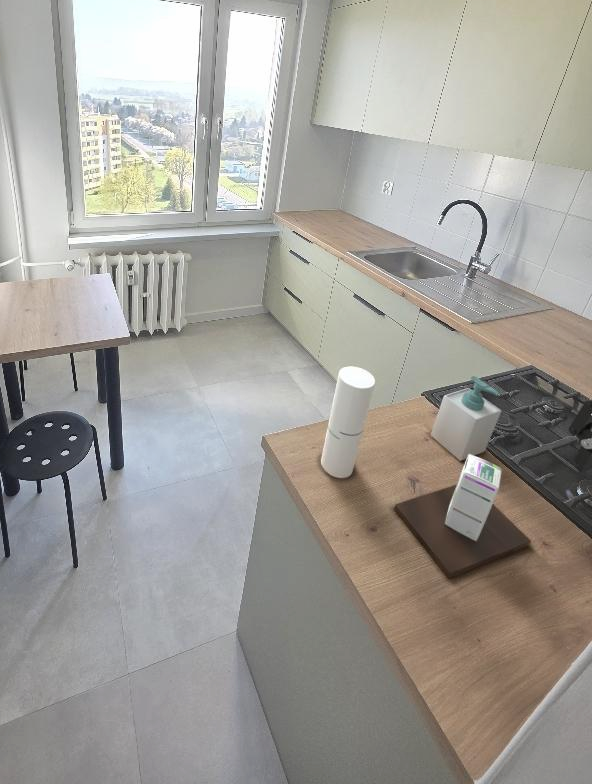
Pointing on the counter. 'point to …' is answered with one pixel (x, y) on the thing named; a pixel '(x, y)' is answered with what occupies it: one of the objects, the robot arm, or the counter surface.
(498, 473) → the syrup box
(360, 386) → the cylindrical container
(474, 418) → the soap bottle
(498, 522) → the board
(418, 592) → the counter surface
